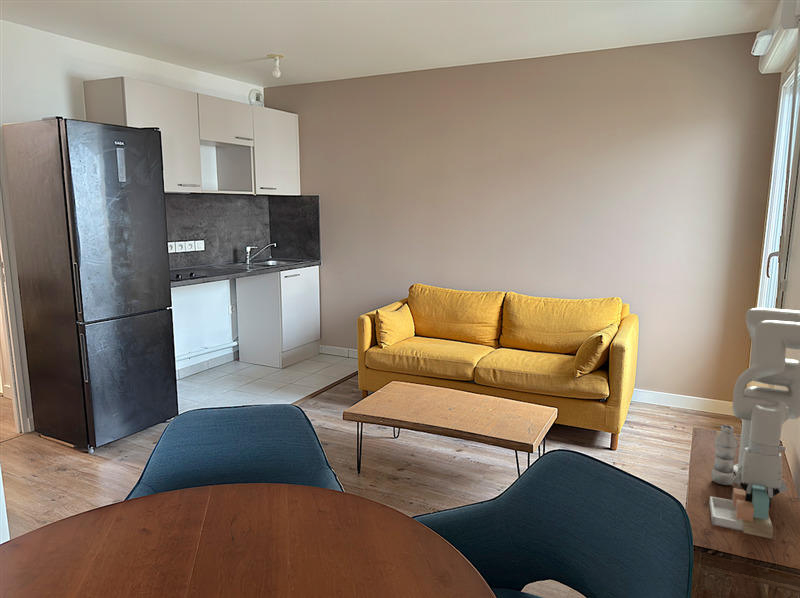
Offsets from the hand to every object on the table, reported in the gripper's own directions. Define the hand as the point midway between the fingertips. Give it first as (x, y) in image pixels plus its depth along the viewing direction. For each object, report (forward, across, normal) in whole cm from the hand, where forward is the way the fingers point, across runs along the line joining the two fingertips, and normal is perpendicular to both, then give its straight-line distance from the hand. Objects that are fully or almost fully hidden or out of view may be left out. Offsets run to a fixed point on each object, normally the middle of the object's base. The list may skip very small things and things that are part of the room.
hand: (757, 506), depth 168 cm
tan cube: (+2, +4, -4) cm, 6 cm away
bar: (+1, 0, 0) cm, 1 cm away
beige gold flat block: (+5, 0, 0) cm, 5 cm away
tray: (+5, +8, 0) cm, 9 cm away
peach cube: (+2, +4, +4) cm, 6 cm away
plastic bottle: (+5, +7, -25) cm, 26 cm away
